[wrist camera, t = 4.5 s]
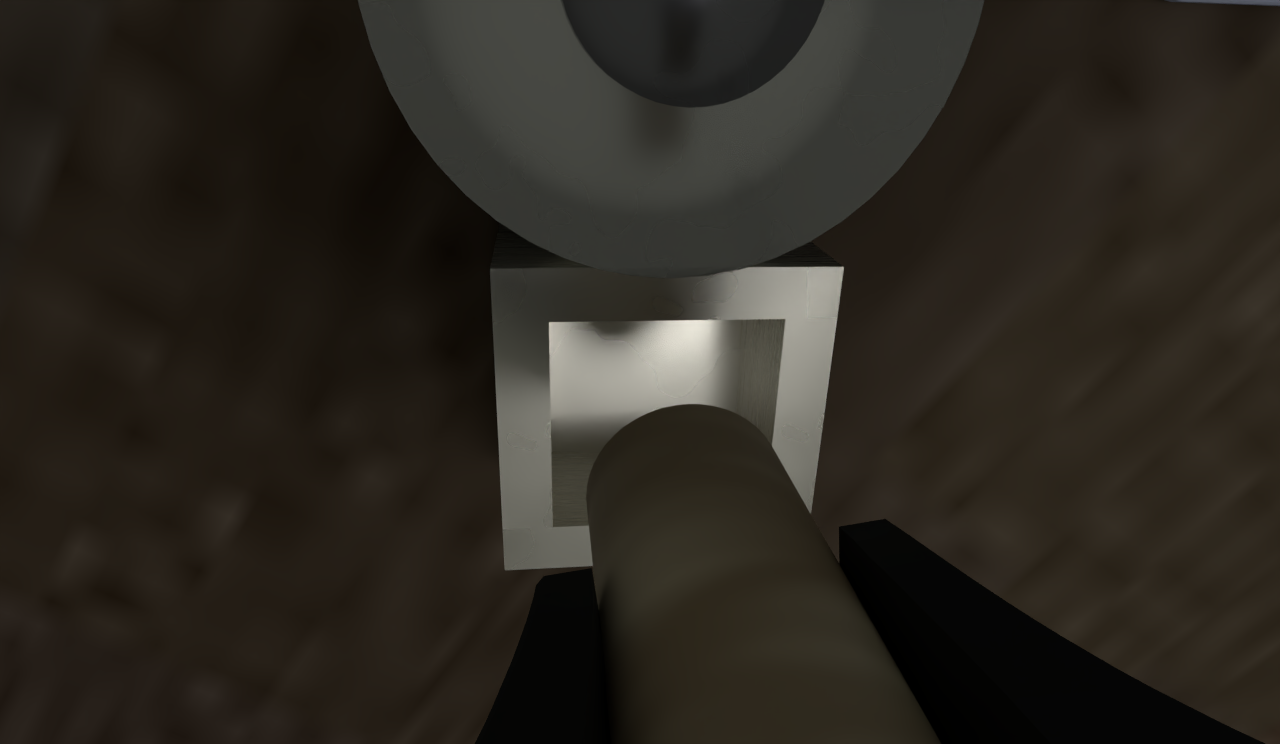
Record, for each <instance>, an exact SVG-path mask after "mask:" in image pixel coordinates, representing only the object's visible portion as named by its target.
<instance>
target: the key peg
mask: <svg viewBox="0 0 1280 744" xmlns="http://www.w3.org/2000/svg"><path fill="white" fill-rule="evenodd" d="M586 503H587V513H588V523H589V532H590V542H591V552H592V562H593V572H594V581H595V591H596V597H597V603H598V609H599V617H600V626H601V636H602V646H603V655H604V665H605V680H606V699H607V709H608V719H609V728H610V738H611V744H941V742H940V740H939V738H938V737H937V735H936V733H935V731H934V730H933V728H932V726H931V724H930V723H929V721H928V719H927V717H926V716H925V714H924V712H923V710H922V709H921V707H920V705H919V703H918V702H917V700H916V698H915V696H914V695H913V693H912V691H911V689H910V688H909V686H908V684H907V682H906V680H905V679H904V677H903V675H902V673H901V672H900V670H899V668H898V666H897V665H896V663H895V661H894V659H893V658H892V656H891V654H890V652H889V651H888V649H887V647H886V645H885V644H884V642H883V640H882V638H881V637H880V635H879V633H878V631H877V630H876V628H875V626H874V624H873V623H872V621H871V619H870V617H869V616H868V614H867V612H866V610H865V609H864V607H863V605H862V603H861V602H860V600H859V598H858V596H857V594H856V593H855V591H854V589H853V587H852V586H851V584H850V582H849V580H848V579H847V577H846V575H845V573H844V572H843V570H842V568H841V566H840V565H839V563H838V561H837V559H836V558H835V556H834V554H833V552H832V551H831V549H830V547H829V545H828V544H827V542H826V540H825V538H824V537H823V535H822V533H821V531H820V530H819V528H818V526H817V524H816V523H815V521H814V519H813V517H812V516H811V514H810V512H809V510H808V509H807V507H806V505H805V503H804V501H803V500H802V498H801V496H800V494H799V493H798V491H797V489H796V487H795V486H794V484H793V482H792V480H791V479H790V477H789V475H788V473H787V472H786V470H785V468H784V466H783V465H782V463H781V461H780V459H779V458H778V456H777V454H776V452H775V451H774V449H773V447H772V445H771V444H770V442H769V441H768V439H767V438H766V436H765V435H764V434H763V433H762V432H761V431H760V430H759V429H758V428H757V427H756V426H755V425H754V424H752V423H751V422H750V421H749V420H747V419H745V418H744V417H742V416H740V415H738V414H736V413H734V412H732V411H729V410H727V409H723V408H720V407H716V406H711V405H704V404H682V405H674V406H669V407H665V408H661V409H658V410H655V411H652V412H649V413H647V414H645V415H643V416H641V417H639V418H637V419H635V420H634V421H632V422H630V423H629V424H627V425H626V426H624V427H623V428H622V429H621V430H620V431H618V432H617V433H616V434H615V435H614V436H613V437H612V438H611V439H610V440H609V441H608V442H607V443H606V445H605V446H604V448H603V449H602V450H601V452H600V453H599V455H598V457H597V458H596V460H595V462H594V464H593V466H592V469H591V472H590V475H589V479H588V483H587V491H586Z"/></svg>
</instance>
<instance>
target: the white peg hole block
mask: <svg viewBox="0 0 1280 744" xmlns="http://www.w3.org/2000/svg"><path fill="white" fill-rule="evenodd" d="M358 3H359V7H360V10H361V14H362V17H363V21H364V24H365V28H366V31H367V35H368V38H369V42H370V45H371V48H372V51H373V53H374V55H375V58H376V60H377V63H378V65H379V67H380V70H381V72H382V74H383V77H384V79H385V82H386V84H387V86H388V89H389V91H390V93H391V95H392V96H393V98H394V100H395V102H396V103H397V105H398V107H399V109H400V110H401V112H402V114H403V116H404V118H405V119H406V121H407V123H408V125H409V126H410V128H411V130H412V131H413V133H414V134H415V135H416V137H417V138H418V139H419V141H420V142H421V143H422V145H423V146H424V148H425V149H426V150H427V152H428V153H429V154H430V156H431V157H432V158H433V160H434V161H435V162H436V164H437V165H438V166H439V167H440V168H441V169H442V170H443V171H444V173H445V174H446V175H447V176H448V177H449V178H450V179H451V180H452V181H453V182H454V183H455V184H456V185H457V186H458V187H459V188H460V190H461V191H462V192H463V193H464V194H465V195H466V196H467V197H469V198H470V199H471V200H472V201H473V202H475V203H476V204H477V205H478V206H479V207H481V208H482V209H483V210H484V211H485V212H487V213H488V214H489V215H490V216H491V217H493V218H494V219H495V220H496V221H498V222H499V228H498V232H497V237H496V242H495V247H494V251H493V256H492V261H491V266H490V281H491V301H492V321H493V342H494V362H495V382H496V403H497V423H498V443H499V463H500V484H501V504H502V524H503V544H504V565H505V570H519V569H539V568H559V567H578V566H593V562H592V552H591V542H590V532H589V523H588V513H587V503H586V491H587V483H588V479H589V475H590V472H591V469H592V466H593V464H594V462H595V460H596V458H597V457H598V455H599V453H600V452H601V450H602V449H603V448H604V446H605V445H606V443H607V442H608V441H609V440H610V439H611V438H612V437H613V436H614V435H615V434H616V433H617V432H618V431H620V430H621V429H622V428H623V427H624V426H626V425H627V424H629V423H630V422H632V421H634V420H635V419H637V418H639V417H641V416H643V415H645V414H647V413H649V412H652V411H655V410H658V409H661V408H665V407H669V406H674V405H682V404H704V405H711V406H716V407H720V408H723V409H727V410H729V411H732V412H734V413H736V414H738V415H740V416H742V417H744V418H745V419H747V420H749V421H750V422H751V423H752V424H754V425H755V426H756V427H757V428H758V429H759V430H760V431H761V432H762V433H763V434H764V435H765V436H766V438H767V439H768V441H769V442H770V444H771V445H772V447H773V449H774V451H775V452H776V454H777V456H778V458H779V459H780V461H781V463H782V465H783V466H784V468H785V470H786V472H787V473H788V475H789V477H790V479H791V480H792V482H793V484H794V486H795V487H796V489H797V491H798V493H799V494H800V496H801V498H802V500H803V501H804V503H805V505H806V507H807V509H808V510H809V512H810V514H811V509H812V501H813V494H814V487H815V479H816V472H817V464H818V457H819V449H820V442H821V434H822V427H823V419H824V412H825V405H826V397H827V390H828V382H829V375H830V367H831V360H832V352H833V345H834V337H835V330H836V322H837V315H838V308H839V300H840V293H841V285H842V278H843V270H844V266H842V265H841V264H840V263H838V262H837V261H836V260H834V259H833V258H832V257H831V256H829V255H828V254H827V253H825V252H824V251H823V250H821V249H820V248H819V247H817V246H816V245H815V244H814V243H812V242H811V241H812V240H813V239H815V238H817V237H818V236H820V235H821V234H823V233H824V232H826V231H828V230H829V229H831V228H832V227H834V226H835V225H837V224H839V223H840V222H842V221H843V220H844V219H845V218H847V217H848V216H849V215H850V214H852V213H853V212H854V211H855V210H857V209H858V208H859V207H860V206H862V205H863V204H864V203H865V202H866V201H868V200H869V199H870V198H871V197H872V196H873V195H874V194H875V193H876V192H877V191H878V190H879V189H880V188H881V187H882V186H883V185H884V184H885V183H886V182H887V181H888V180H889V179H890V178H891V177H892V176H893V175H894V174H895V173H896V172H897V171H898V170H899V169H900V167H901V166H902V165H903V164H904V162H905V161H906V160H907V159H908V157H909V156H910V155H911V153H912V152H913V151H914V150H915V148H916V147H917V146H918V145H919V143H920V142H921V141H922V139H923V138H924V137H925V135H926V133H927V132H928V130H929V129H930V127H931V125H932V124H933V122H934V120H935V119H936V117H937V116H938V114H939V112H940V111H941V109H942V108H943V106H944V104H945V103H946V101H947V99H948V97H949V94H950V92H951V90H952V88H953V86H954V84H955V82H956V80H957V78H958V76H959V74H960V72H961V69H962V67H963V65H964V63H965V60H966V57H967V55H968V52H969V49H970V46H971V43H972V40H973V38H974V35H975V32H976V29H977V26H978V23H979V20H980V15H981V11H982V7H983V3H984V0H358Z"/></svg>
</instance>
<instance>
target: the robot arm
mask: <svg viewBox="0 0 1280 744" xmlns="http://www.w3.org/2000/svg"><path fill="white" fill-rule="evenodd" d="M1166 1H1170V2H1187V3H1213V4H1238V5H1264V6H1280V0H1166ZM839 558H840V566H841V568H842V570H843V572H844V573H845V575H846V577H847V579H848V580H849V582H850V584H851V586H852V587H853V589H854V591H855V593H856V594H857V596H858V598H859V600H860V602H861V603H862V605H863V607H864V609H865V610H866V612H867V614H868V616H869V617H870V619H871V621H872V623H873V624H874V626H875V628H876V630H877V631H878V633H879V635H880V637H881V638H882V640H883V642H884V644H885V645H886V647H887V649H888V651H889V652H890V654H891V656H892V658H893V659H894V661H895V663H896V665H897V666H898V668H899V670H900V672H901V673H902V675H903V677H904V679H905V680H906V682H907V684H908V686H909V688H910V689H911V691H912V693H913V695H914V696H915V698H916V700H917V702H918V703H919V705H920V707H921V709H922V710H923V712H924V714H925V716H926V717H927V719H928V721H929V723H930V724H931V726H932V728H933V730H934V731H935V733H936V735H937V737H938V738H939V740H940V742H941V744H1265V743H1263V742H1261V741H1259V740H1256V739H1254V738H1252V737H1250V736H1248V735H1246V734H1244V733H1241V732H1239V731H1237V730H1235V729H1233V728H1231V727H1229V726H1227V725H1225V724H1222V723H1220V722H1218V721H1217V720H1215V719H1213V718H1211V717H1209V716H1207V715H1205V714H1203V713H1201V712H1199V711H1197V710H1195V709H1193V708H1191V707H1189V706H1187V705H1185V704H1183V703H1181V702H1179V701H1177V700H1175V699H1173V698H1171V697H1169V696H1167V695H1165V694H1163V693H1161V692H1159V691H1157V690H1155V689H1153V688H1151V687H1150V686H1148V685H1146V684H1144V683H1142V682H1140V681H1139V680H1137V679H1135V678H1133V677H1131V676H1129V675H1128V674H1126V673H1124V672H1122V671H1120V670H1118V669H1117V668H1115V667H1113V666H1111V665H1110V664H1108V663H1106V662H1105V661H1103V660H1101V659H1099V658H1098V657H1096V656H1094V655H1093V654H1091V653H1089V652H1087V651H1086V650H1084V649H1082V648H1081V647H1079V646H1077V645H1076V644H1074V643H1072V642H1070V641H1069V640H1067V639H1065V638H1064V637H1062V636H1060V635H1059V634H1057V633H1055V632H1054V631H1052V630H1050V629H1049V628H1047V627H1046V626H1044V625H1042V624H1041V623H1039V622H1038V621H1036V620H1034V619H1033V618H1031V617H1030V616H1028V615H1026V614H1025V613H1023V612H1022V611H1020V610H1019V609H1017V608H1015V607H1014V606H1012V605H1011V604H1009V603H1008V602H1006V601H1005V600H1003V599H1002V598H1000V597H999V596H997V595H996V594H994V593H993V592H991V591H990V590H988V589H987V588H985V587H984V586H982V585H981V584H979V583H978V582H976V581H975V580H973V579H972V578H970V577H969V576H967V575H966V574H964V573H963V572H961V571H960V570H959V569H957V568H956V567H954V566H953V565H951V564H950V563H948V562H947V561H945V560H944V559H943V558H941V557H940V556H938V555H937V554H935V553H934V552H932V551H931V550H930V549H928V548H927V547H925V546H924V545H922V544H921V543H920V542H918V541H917V540H915V539H914V538H912V537H911V536H910V535H908V534H907V533H905V532H904V531H902V530H901V529H899V528H898V527H896V526H895V525H893V524H892V523H890V522H889V521H887V520H886V519H882V520H876V521H870V522H864V523H858V524H853V525H847V526H841V527H839ZM475 744H611V738H610V728H609V719H608V709H607V699H606V680H605V665H604V655H603V646H602V636H601V626H600V617H599V609H598V603H597V597H596V591H595V585H594V580H593V574H592V568H590V569H584V570H578V571H572V572H566V573H560V574H554V575H548V576H544V577H543V578H542V579H541V580H540V581H539V583H538V584H537V585H536V589H535V593H534V597H533V601H532V604H531V608H530V611H529V615H528V618H527V621H526V624H525V627H524V630H523V633H522V635H521V638H520V641H519V643H518V646H517V649H516V651H515V654H514V657H513V659H512V662H511V664H510V667H509V669H508V671H507V674H506V676H505V679H504V681H503V683H502V686H501V688H500V690H499V693H498V695H497V697H496V700H495V702H494V705H493V707H492V709H491V711H490V714H489V716H488V718H487V720H486V722H485V724H484V726H483V728H482V730H481V732H480V734H479V736H478V738H477V740H476V743H475Z"/></svg>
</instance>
